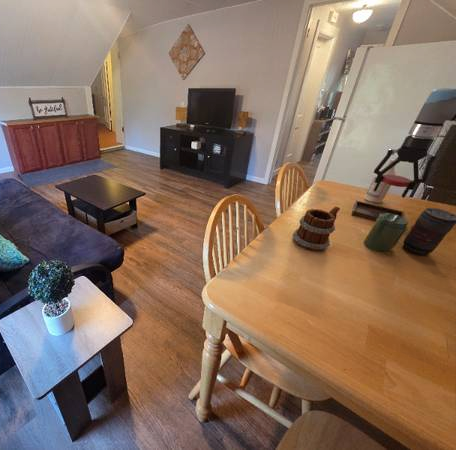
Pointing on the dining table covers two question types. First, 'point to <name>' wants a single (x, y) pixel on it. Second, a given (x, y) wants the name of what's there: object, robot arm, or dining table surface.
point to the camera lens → (428, 231)
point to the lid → (396, 180)
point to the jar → (386, 232)
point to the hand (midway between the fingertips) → (388, 193)
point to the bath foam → (382, 188)
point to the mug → (315, 229)
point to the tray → (372, 211)
